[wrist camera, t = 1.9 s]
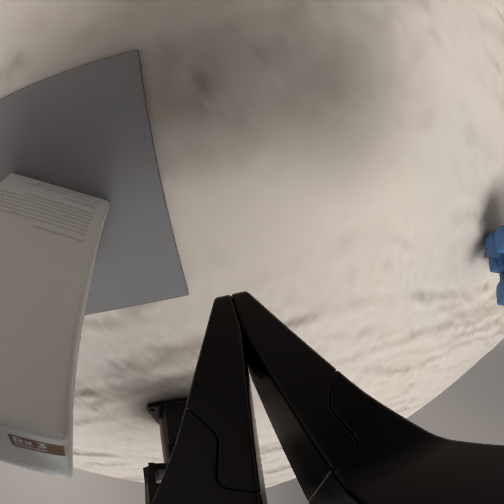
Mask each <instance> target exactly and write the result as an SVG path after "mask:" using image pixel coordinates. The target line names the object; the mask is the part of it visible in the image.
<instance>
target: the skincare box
mask: <svg viewBox="0 0 504 504" xmlns="http://www.w3.org/2000/svg"><path fill="white" fill-rule="evenodd" d="M108 209H109V202H108V201H107V200H104V199H101V198H97V197H94V196H90V195H87V194H83V193H80V192H76V191H73V190H70V189H66V188H63V187H60V186H56V185H53V184H49V183H46V182H42V181H39V180H35V179H32V178H28V177H25V176H21V175H18V174H14V173H11V174H9V175H8V176H7V177H6V178H5V179H4V180H3V181H1V182H0V460H1V461H4V462H7V463H10V464H13V465H16V466H20V467H23V468H26V469H31V470H34V471H38V472H42V473H46V474H50V475H54V476H58V477H62V478H71V477H72V474H73V405H74V390H75V378H76V368H77V360H78V352H79V344H80V338H81V331H82V325H83V319H84V313H85V307H86V302H87V296H88V291H89V287H90V282H91V277H92V273H93V268H94V263H95V258H96V253H97V249H98V244H99V240H100V237H101V233H102V229H103V226H104V222H105V219H106V215H107V212H108Z"/></svg>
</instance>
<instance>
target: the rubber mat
mask: <svg viewBox="0 0 504 504" xmlns="http://www.w3.org/2000/svg"><path fill="white" fill-rule="evenodd" d="M11 173H14V174H18V175H21V176H25V177H28V178H32V179H35V180H39V181H42V182H46V183H49V184H53V185H56V186H60V187H63V188H66V189H70V190H73V191H76V192H80V193H83V194H87V195H90V196H94V197H97V198H101V199H104V200H107V201H108V202H109V209H108V212H107V215H106V219H105V222H104V226H103V229H102V233H101V237H100V240H99V244H98V249H97V253H96V258H95V263H94V268H93V273H92V277H91V282H90V287H89V291H88V296H87V302H86V307H85V313H84V315H87V314H93V313H98V312H104V311H109V310H115V309H120V308H125V307H131V306H136V305H141V304H146V303H152V302H157V301H162V300H167V299H172V298H177V297H182V296H187V295H189V294H188V289H187V285H186V281H185V278H184V274H183V270H182V267H181V263H180V259H179V255H178V252H177V248H176V244H175V240H174V236H173V232H172V228H171V224H170V219H169V215H168V211H167V207H166V202H165V198H164V193H163V189H162V184H161V180H160V175H159V170H158V166H157V161H156V156H155V151H154V146H153V140H152V135H151V130H150V124H149V119H148V113H147V107H146V101H145V95H144V88H143V82H142V75H141V68H140V61H139V53H138V50H136V51H132V52H127V53H123V54H120V55H116V56H112V57H109V58H105V59H102V60H98V61H95V62H92V63H89V64H86V65H83V66H80V67H77V68H74V69H71V70H68V71H65V72H63V73H60V74H57V75H55V76H52V77H50V78H47V79H45V80H42V81H40V82H37V83H35V84H33V85H31V86H28V87H26V88H24V89H22V90H20V91H17V92H15V93H13V94H11V95H9V96H7V97H5V98H3V99H1V100H0V182H1V181H3V180H4V179H5V178H6V177H7V176H8V175H9V174H11Z"/></svg>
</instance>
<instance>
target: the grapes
mask: <svg viewBox="0 0 504 504" xmlns="http://www.w3.org/2000/svg"><path fill="white" fill-rule="evenodd" d="M485 249H486V255H487V257H489V267H490V272H494V273H499V274H500V282H499V283H498V285H497V290H496V295H497V304H498V305H502V306H504V226H501V227H500V228H498V229H497V230H496V232H492V233H490V234H489V235H487V237H486V239H485Z"/></svg>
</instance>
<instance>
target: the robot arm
mask: <svg viewBox="0 0 504 504" xmlns="http://www.w3.org/2000/svg"><path fill="white" fill-rule="evenodd" d="M248 369H249V371H248ZM249 372H250V375H251V378H252V380H253V383H254V385H255V387H256V390H257V392H258V394H259V396H260V399H261V401H262V403H263V406H264V408H265V410H266V412H267V415H268V417H269V419H270V421H271V424H272V426H273V428H274V430H275V433H276V435H277V437H278V439H279V441H280V443H281V446H282V448H283V450H284V452H285V454H286V456H287V458H288V461H289V463H290V465H291V467H292V469H293V471H294V473H295V475H296V477H297V479H298V481H299V484H300V486H301V488H302V489H303V492H304V494H305V496H306V498H307V500H308V501H309V503H310V504H504V445H491V444H481V443H471V442H463V441H456V440H450V439H446V438H442V437H439V436H436V435H434V434H432V433H430V432H428V431H426V430H424V429H422V428H421V427H419V426H417V425H416V424H414V423H412V422H411V421H409V420H407V419H406V418H404V417H402V416H401V415H399V414H397V413H396V412H394V411H393V410H391V409H389V408H388V407H386V406H384V405H383V404H381V403H380V402H378V401H377V400H375V399H374V398H372V397H371V396H369V395H368V394H366V393H365V392H364V391H362V390H361V389H360V388H359V387H357V386H356V385H355V384H353V383H352V382H351V381H350V380H348V379H347V378H346V377H345V376H344V375H343V374H341V373H340V372H339V371H336V369H335V368H334V367H333V366H332V365H331V364H329V363H328V362H327V361H326V360H325V359H324V358H322V357H321V356H320V355H319V354H318V353H317V352H315V351H314V350H313V349H312V348H311V347H310V346H308V345H307V344H306V343H305V342H304V341H303V340H301V339H300V338H299V337H298V336H297V335H296V334H295V333H293V332H292V331H291V330H290V329H289V328H288V327H287V326H285V325H284V324H283V323H282V322H281V321H280V320H279V319H278V318H276V317H275V316H274V315H273V314H272V313H271V312H270V311H269V310H267V309H266V308H265V307H264V306H263V305H262V304H261V303H260V302H258V301H257V300H256V299H255V298H254V297H253V296H252V295H251V294H250V293H248V292H246V291H244V292H240V293H235V294H233V295H232V297H231V296H230V295H226V296H221V297H217V298H215V300H214V303H213V307H212V311H211V314H210V318H209V321H208V325H207V329H206V332H205V336H204V340H203V343H202V347H201V351H200V354H199V358H198V362H197V366H196V369H195V373H194V377H193V381H192V385H191V388H190V392H189V396H188V398H186V399H180V400H173V401H167V402H160V403H153V404H148V405H147V410H148V412H149V413H150V414H151V415H152V417H153V418H154V419H155V420H156V421H157V423H158V424H159V425H160V433H161V442H162V450H163V458H164V463H148V465H149V466H148V467H145V468H143V470H144V479H145V502H146V504H267V497H266V491H265V484H264V477H263V471H262V464H261V457H260V450H259V443H258V436H257V429H256V421H255V414H254V407H253V399H252V392H251V384H250V377H249ZM160 480H161V482H160Z"/></svg>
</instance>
